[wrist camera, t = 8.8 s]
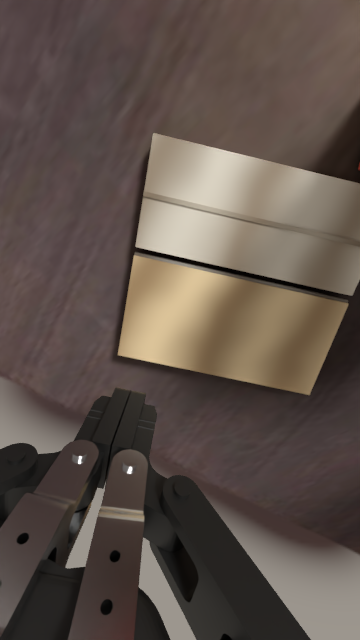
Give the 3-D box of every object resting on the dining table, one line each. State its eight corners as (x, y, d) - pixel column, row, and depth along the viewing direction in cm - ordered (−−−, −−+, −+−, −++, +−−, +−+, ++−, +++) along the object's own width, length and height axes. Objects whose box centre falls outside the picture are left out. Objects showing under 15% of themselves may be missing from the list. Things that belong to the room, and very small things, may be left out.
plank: (341, 297, 22) (349, 301, 21) (303, 387, 25) (309, 395, 24) (137, 250, 21) (134, 252, 20) (120, 348, 24) (117, 355, 23)
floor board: (383, 194, 20) (399, 192, 18) (342, 290, 22) (353, 296, 21) (156, 138, 19) (153, 132, 18) (138, 244, 22) (134, 247, 20)
